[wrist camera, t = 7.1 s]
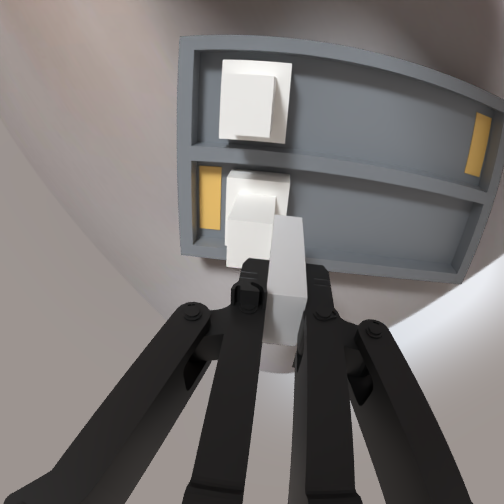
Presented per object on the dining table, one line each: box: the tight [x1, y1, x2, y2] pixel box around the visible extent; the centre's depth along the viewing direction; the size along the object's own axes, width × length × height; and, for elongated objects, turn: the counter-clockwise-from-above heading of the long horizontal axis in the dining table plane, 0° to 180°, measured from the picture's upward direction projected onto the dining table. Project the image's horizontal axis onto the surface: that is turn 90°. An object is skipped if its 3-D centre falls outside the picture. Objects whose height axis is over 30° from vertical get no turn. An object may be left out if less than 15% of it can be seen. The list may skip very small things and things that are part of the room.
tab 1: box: [219, 60, 292, 144], centre depth 15 cm, size 5×4×6 cm
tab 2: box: [225, 169, 290, 268], centre depth 19 cm, size 5×4×6 cm
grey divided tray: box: [177, 35, 504, 284], centre depth 20 cm, size 16×24×4 cm, turn 86°
